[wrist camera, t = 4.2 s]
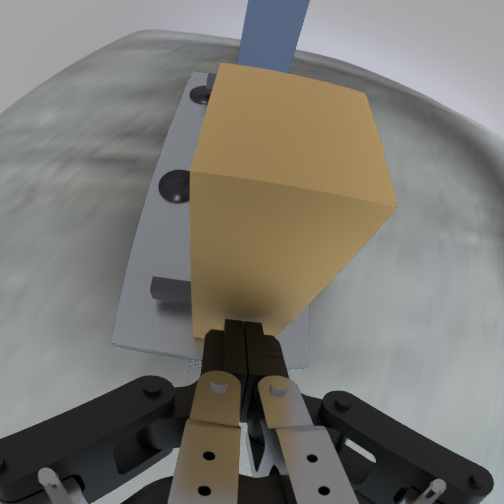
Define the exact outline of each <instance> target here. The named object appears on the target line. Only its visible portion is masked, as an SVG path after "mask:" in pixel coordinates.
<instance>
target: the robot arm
mask: <svg viewBox="0 0 504 504" xmlns="http://www.w3.org/2000/svg"><path fill="white" fill-rule="evenodd" d="M239 419H240V422H245V423H247V425H248V430H247V434H246V444H247V450H248V456H249V461H250V466H251V472H252V477H249V476H245V475H241V474H239V454H240V433H241V428H240V426H239ZM347 439H350V440H351V441H353V442H354V443H356V444H357V445H359V446H361V447H362V448H364V449H365V450H367V451H368V452H370V453H371V454H373V455H374V457H375V459H376V463H374V462H372V461H370V460H368V459H367V458H365V457H364V456H362V455H361V454H359V453H358V452H356V451H354V450H353V449H351V448H350V447H348V446H347V445H345V443H346V441H347ZM179 447H180V450H179V454H178V459H177V463H176V468H175V472H174V476H170V477H166V478H162V479H159V480H157V481H154V482H152V483H150V484H148V485H146V486H145V487H143V488H142V489H141V490H139V491H138V492H136V493H135V494H134V495H132V496H131V497H129V498H128V499H126V500H125V501H124V502H122V503H121V504H479V503H480V502H481V501H482V500H483V499H484V498H485V497H486V496H487V495H488V494H489V493H490V492H491V491H492V489H493V486H494V481H493V478H492V475H491V474H490V473H489V471H488V470H486V469H485V468H484V467H482V466H480V465H478V464H476V463H474V462H472V461H470V460H468V459H466V458H464V457H462V456H460V455H458V454H456V453H454V452H452V451H450V450H449V449H447V448H445V447H443V446H441V445H439V444H437V443H435V442H434V441H432V440H430V439H428V438H426V437H424V436H423V435H421V434H419V433H417V432H415V431H414V430H412V429H410V428H408V427H407V426H405V425H403V424H401V423H400V422H398V421H396V420H394V419H393V418H391V417H389V416H388V415H386V414H384V413H382V412H381V411H379V410H377V409H376V408H374V407H372V406H371V405H369V404H367V403H366V402H364V401H362V400H361V399H359V398H357V397H356V396H354V395H352V394H350V393H348V392H345V391H331V392H329V393H327V394H326V395H325V396H324V398H323V400H322V399H318V398H314V397H310V396H306V395H304V394H302V393H300V390H299V388H298V386H297V385H296V383H294V382H293V381H292V380H290V379H289V376H288V372H287V368H286V364H285V360H284V356H283V353H282V349H281V345H280V342H279V341H278V340H277V339H276V338H275V337H274V336H273V335H264V332H263V326H262V323H260V322H251V321H244V322H243V321H241V320H232V319H225V321H224V328H223V330H215V329H211V330H210V331H209V332H208V333H207V334H206V335H205V340H204V349H203V358H202V368H201V375H200V377H199V379H198V380H197V381H196V382H195V383H193V384H191V385H189V386H185V387H176V388H174V386H173V385H172V384H171V382H169V381H168V380H166V379H164V378H162V377H159V376H152V375H150V376H143V377H140V378H137V379H135V380H133V381H131V382H129V383H127V384H125V385H123V386H121V387H119V388H117V389H114V390H112V391H110V392H108V393H106V394H104V395H102V396H100V397H97V398H95V399H93V400H91V401H89V402H87V403H84V404H82V405H80V406H78V407H76V408H73V409H71V410H69V411H67V412H64V413H62V414H60V415H57V416H55V417H53V418H51V419H48V420H46V421H43V422H41V423H39V424H36V425H34V426H32V427H29V428H27V429H24V430H22V431H19V432H17V433H14V434H12V435H9V436H7V437H4V438H2V439H0V504H91V503H92V502H94V501H96V500H98V499H99V498H101V497H103V496H104V495H106V494H108V493H110V492H111V491H113V490H115V489H116V488H118V487H119V486H121V485H123V484H124V483H126V482H128V481H129V480H131V479H132V478H134V477H135V476H137V475H139V474H140V473H142V472H143V471H145V470H146V469H148V468H149V467H151V466H152V465H154V464H155V463H157V462H158V461H160V460H161V459H163V458H164V457H166V456H167V455H169V454H170V453H171V452H172V450H173V448H179Z"/></svg>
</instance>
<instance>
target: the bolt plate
mask: <svg viewBox="0 0 504 504" xmlns="http://www.w3.org/2000/svg"><path fill="white" fill-rule="evenodd" d="M208 74H209V73H200V72H192V74H191V76H190V78H189V81H188V83H187V85H186V88H185V90H184V93H183V95H182V98H181V100H180V102H179V105H178V108H177V110H176V113H175V115H174V118H173V120H172V123H171V126H170V128H169V131H168V134H167V137H166V139H165V142H164V145H163V148H162V151H161V154H160V156H159V159H158V162H157V165H156V168H155V171H154V174H153V177H152V180H151V184H150V187H149V190H148V193H147V196H146V200H145V203H144V206H143V210H142V213H141V217H140V220H139V224H138V227H137V231H136V234H135V238H134V242H133V246H132V249H131V253H130V257H129V261H128V265H127V269H126V274H125V278H124V282H123V287H122V291H121V296H120V300H119V305H118V310H117V315H116V320H115V325H114V330H113V335H112V341H111V343H112V344H113V345H115V346H117V347H122V348H127V349H133V350H138V351H144V352H150V353H156V354H162V355H169V356H175V357H182V358H189V359H197V360H202V358H203V349H204V340H205V339H201V338H194V337H193V321H192V304H186V303H179V302H172V301H165V300H159V299H153V298H152V295H151V293H150V287H151V282H152V277H153V276H156V277H163V278H170V279H177V280H184V281H191V269H190V169H191V165H192V161H193V157H194V153H195V149H196V145H197V142H198V138H199V134H200V131H201V127H202V123H203V120H204V116H205V113H206V109H207V106H208V102H209V99H210V95H211V92H212V89H206V84H207V77H208ZM275 338H276V339H277V340H278V341H279V342H280V345H281V349H282V353H283V356H284V360H285V364H286V368H296V369H304V368H307V367H309V339H310V304H309V305H308V306H307V307H306V308H305V309H304V310H303V311H302V312H301V313H300V314H299V315H298V316H297V317H296V318H295V319H294V320H293V321H292V322H291V323H290V324H289V325H288V326H287V327H286V328H285V329H284V330H283V331H282V332H281V333H279V334H278V335H277V336H276V337H275Z"/></svg>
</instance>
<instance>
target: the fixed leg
mask: <svg viewBox="0 0 504 504" xmlns="http://www.w3.org/2000/svg"><path fill="white" fill-rule="evenodd" d="M309 1H310V0H248V6H247V11H246V16H245V22H244V27H243V33H242V38H241V44H240V50H239V56H238V62H237V65H244V66H250V67H256V68H262V69H268V70H274V71H279V72H284V73H289V70H290V66H291V63H292V59H293V56H294V52H295V49H296V46H297V42H298V38H299V35H300V31H301V28H302V25H303V22H304V18H305V15H306V11H307V8H308V4H309ZM216 76H217V74H210V73H209V74H208V77H207V84H206V89H213V86H214V82H215V79H216Z"/></svg>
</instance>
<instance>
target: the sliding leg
mask: <svg viewBox="0 0 504 504" xmlns="http://www.w3.org/2000/svg"><path fill="white" fill-rule="evenodd" d="M396 209H397V203H396V198H395V194H394V190H393V186H392V181H391V177H390V173H389V170H388V166H387V162H386V158H385V155H384V151H383V147H382V144H381V140H380V137H379V134H378V130H377V127H376V124H375V121H374V118H373V114H372V111H371V108H370V105H369V102H368V100H367V97H366V94H365V93H363V92H360V91H357V90H353V89H350V88H346V87H343V86H339V85H335V84H332V83H328V82H324V81H320V80H316V79H312V78H307V77H303V76H298V75H294V74H289V73H284V72H279V71H274V70H268V69H262V68H256V67H250V66H244V65H237V64H229V63H220V66H219V69H218V73H217V76H216V79H215V82H214V86H213V89H212V92H211V95H210V99H209V102H208V106H207V109H206V113H205V116H204V120H203V123H202V127H201V131H200V134H199V138H198V142H197V145H196V149H195V153H194V157H193V161H192V165H191V169H190V269H191V281H184V280H177V279H170V278H163V277H156V276H153V277H152V282H151V287H150V293H151V295H152V298H153V299H159V300H165V301H172V302H179V303H186V304H192V321H193V337H194V338H201V339H205V335H206V334H207V333H208V332H209V331H210V330H211V329H215V330H223V328H224V321H225V319H232V320H241V321H243V322H244V321H251V322H260V323H262V326H263V332H264V335H273V336H274V337H276V336H277V335H278V334H279V333H281V332H282V331H283V330H284V329H285V328H286V327H287V326H288V325H289V324H290V323H291V322H292V321H293V320H294V319H295V318H296V317H297V316H298V315H299V314H300V313H301V312H302V311H303V310H304V309H305V308H306V307H307V306H308V305H309V304H310V303H311V302H312V301H313V300H314V299H315V297H316V296H317V295H318V294H319V293H320V292H321V291H322V290H323V289H324V288H325V287H326V286H327V285H328V284H329V283H330V282H331V281H332V280H333V279H334V278H335V277H336V276H337V274H338V273H339V272H340V271H341V270H342V269H343V268H344V267H345V266H346V265H347V264H348V263H349V262H350V261H351V259H352V258H353V257H354V256H355V255H356V254H357V253H358V252H359V251H360V250H361V248H362V247H363V246H364V245H365V244H366V243H367V242H368V241H369V240H370V238H371V237H372V236H373V235H374V234H375V233H376V232H377V231H378V229H379V228H380V227H381V226H382V225H383V224H384V223H385V221H386V220H387V219H388V218H389V217H390V216H391V214H392V213H393V212H394V211H395V210H396Z"/></svg>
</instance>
